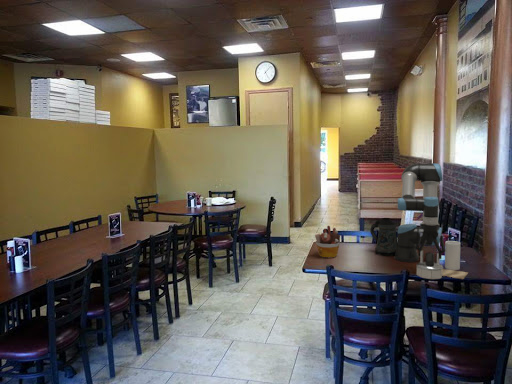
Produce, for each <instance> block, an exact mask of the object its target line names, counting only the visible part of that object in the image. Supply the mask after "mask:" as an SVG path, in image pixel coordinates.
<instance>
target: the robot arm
mask: <svg viewBox="0 0 512 384" xmlns="http://www.w3.org/2000/svg"><path fill="white" fill-rule="evenodd" d="M401 181H402V187H401V197H399V198H397V210H399V211H406V212H408V211H409V212H415V211H416V212H422V222H421V223H420V224H419V226H417V224H415V223H404V224H400V225H399V226H398V227H397V232H396V234H397V242H398V243H397V250H396V253H395V256H394V260H396V261H399V262H403V263H416V262H419V263H420V262H421V263H422V262H424V250H423V248H424V247H425V246H432V247H433V246H435V248H436V250H437V253H436V263H437V265H439V264H440V260H441V259H443V258H442V255H443V254H445V242H444V241H445V240H444V238H445V237H444V236H445V235H444V234H443V233H442V231H443V227H440V226H441V225H440V223H439V203H440V202H439V198H438V186H440V184H441V182H443V171H442V166H441V164H439V163H433V162H432V163H414V164H410V165H408V166H406V168H405V169H404V170H403V171H402V173H401ZM416 182H420V184H421V186H423V187H422V189H423V190H422V194H423V195H422V198H416V197H415V196H416V195H415V193H416ZM419 258H420V259H419ZM419 260H420V261H419Z"/></svg>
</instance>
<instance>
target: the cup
mask: <svg viewBox="0 0 512 384" xmlns="http://www.w3.org/2000/svg"><path fill="white" fill-rule="evenodd" d="M444 246H445V252H444V269H448V270H455V271H460V269H461V268H460V267H461V242H460V241H454V240H446V241H445V242H444Z"/></svg>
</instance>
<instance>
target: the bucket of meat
mask: <svg viewBox="0 0 512 384" xmlns="http://www.w3.org/2000/svg"><path fill="white" fill-rule="evenodd" d="M336 229H337V228H336V227H333V229H332V232H331V226H330V225H327V227H326V228H323V232H322V233H317V234H316V233H315V235H314V238H315V240H316V241H315V243H316V248H317V252H318V255H319V257H321V256H322V257H321V258H323V257H334V258H336V257H337V256H338V252H339V248H340V243H341V235H340V234H338V232H339V231H338V230H336ZM335 256H336V257H335Z"/></svg>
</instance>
